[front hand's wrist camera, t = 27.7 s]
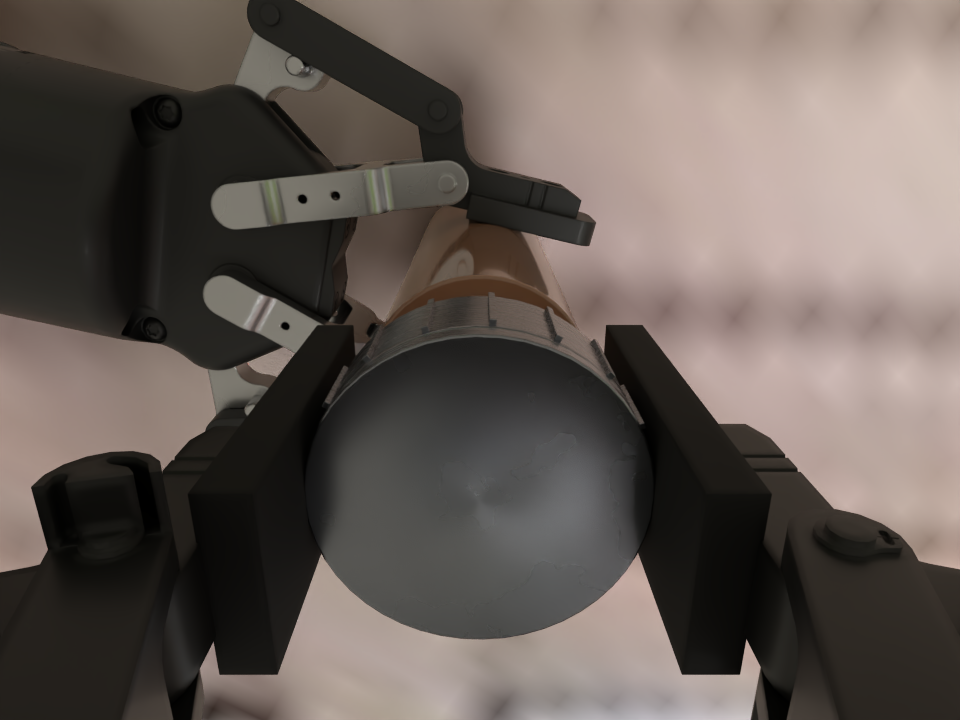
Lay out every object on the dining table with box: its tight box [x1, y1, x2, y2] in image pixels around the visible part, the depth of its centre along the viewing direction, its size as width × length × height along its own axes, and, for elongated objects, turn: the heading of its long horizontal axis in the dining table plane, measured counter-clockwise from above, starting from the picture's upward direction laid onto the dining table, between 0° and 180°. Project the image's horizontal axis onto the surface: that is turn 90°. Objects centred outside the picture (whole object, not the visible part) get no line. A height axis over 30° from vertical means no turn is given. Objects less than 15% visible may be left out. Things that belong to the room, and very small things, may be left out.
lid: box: [304, 292, 655, 639], centre depth 11 cm, size 5×5×2 cm
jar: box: [383, 206, 579, 330], centre depth 19 cm, size 5×5×16 cm
